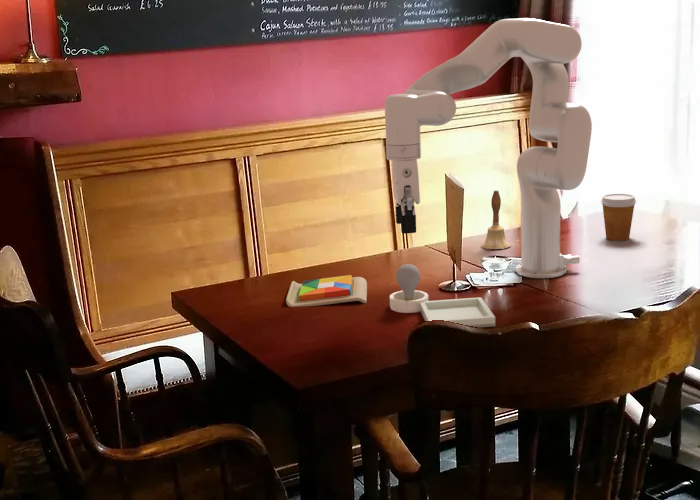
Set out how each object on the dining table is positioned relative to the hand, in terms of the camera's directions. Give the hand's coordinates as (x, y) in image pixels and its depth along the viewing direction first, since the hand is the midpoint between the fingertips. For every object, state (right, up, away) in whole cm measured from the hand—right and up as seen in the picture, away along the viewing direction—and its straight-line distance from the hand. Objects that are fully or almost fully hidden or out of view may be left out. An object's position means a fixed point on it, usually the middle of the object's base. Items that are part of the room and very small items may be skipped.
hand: (405, 228), depth 198 cm
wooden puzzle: (-18, -16, +17) cm, 30 cm away
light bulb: (+1, -18, +5) cm, 19 cm away
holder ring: (+1, -18, +5) cm, 18 cm away
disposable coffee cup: (+64, -2, +54) cm, 84 cm away
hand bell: (+29, -4, +53) cm, 60 cm away
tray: (+11, -20, -5) cm, 23 cm away
